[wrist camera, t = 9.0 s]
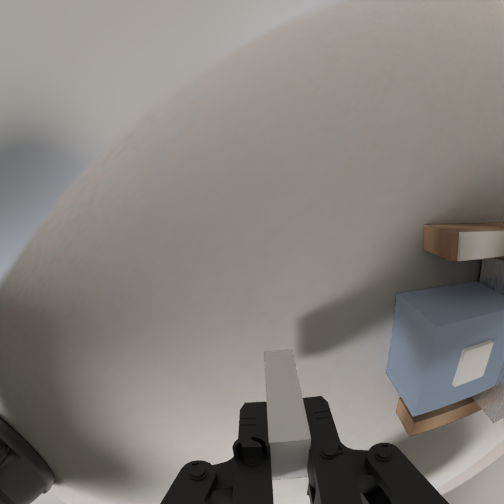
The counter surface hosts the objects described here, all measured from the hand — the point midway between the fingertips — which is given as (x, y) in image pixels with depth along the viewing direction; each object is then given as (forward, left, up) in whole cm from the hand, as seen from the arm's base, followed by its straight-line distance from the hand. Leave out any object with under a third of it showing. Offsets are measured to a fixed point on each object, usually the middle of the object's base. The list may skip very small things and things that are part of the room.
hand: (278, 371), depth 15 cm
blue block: (+11, 0, -2) cm, 11 cm away
